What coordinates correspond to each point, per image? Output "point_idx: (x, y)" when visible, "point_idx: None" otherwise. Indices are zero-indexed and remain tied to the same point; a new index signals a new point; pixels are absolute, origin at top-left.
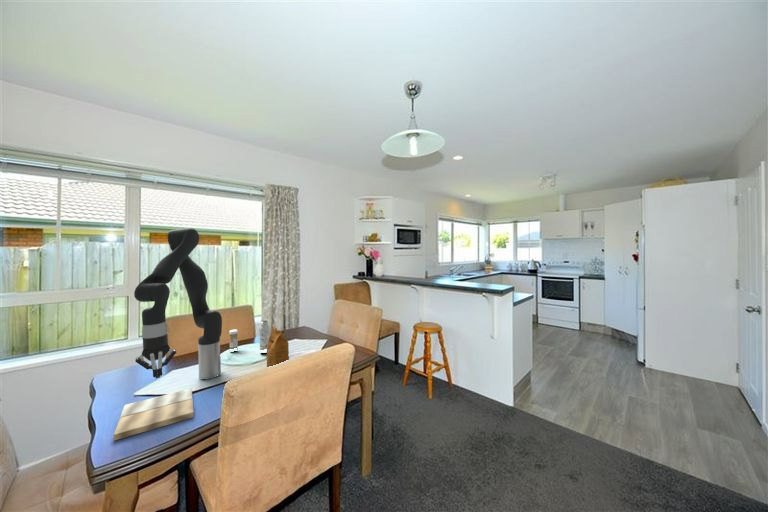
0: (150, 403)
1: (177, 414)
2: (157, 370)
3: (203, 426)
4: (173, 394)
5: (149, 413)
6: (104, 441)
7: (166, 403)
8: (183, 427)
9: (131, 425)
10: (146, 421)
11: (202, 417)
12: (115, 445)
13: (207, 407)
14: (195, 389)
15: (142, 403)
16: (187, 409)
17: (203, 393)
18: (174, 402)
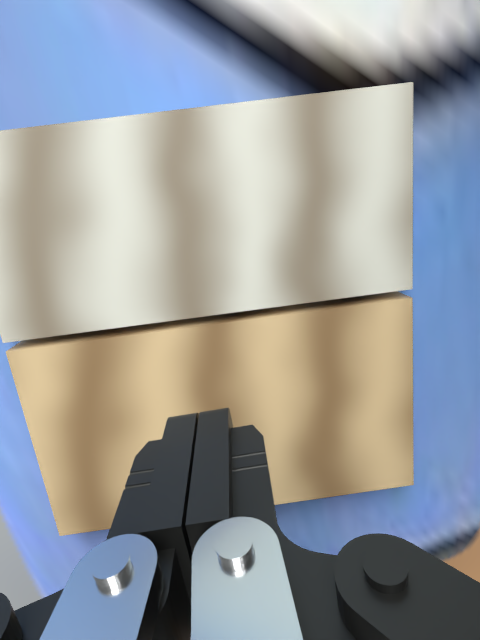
0: (140, 223)
1: (334, 474)
2: (189, 475)
3: (434, 554)
4: (281, 134)
5: (175, 381)
6: (26, 491)
7: (252, 283)
8: (354, 526)
9: (115, 481)
10: None
11: (436, 479)
12: (93, 542)
13: (470, 386)
14: (424, 29)
15: (79, 189)
16: (383, 441)
17: (471, 157)
18: (303, 296)
